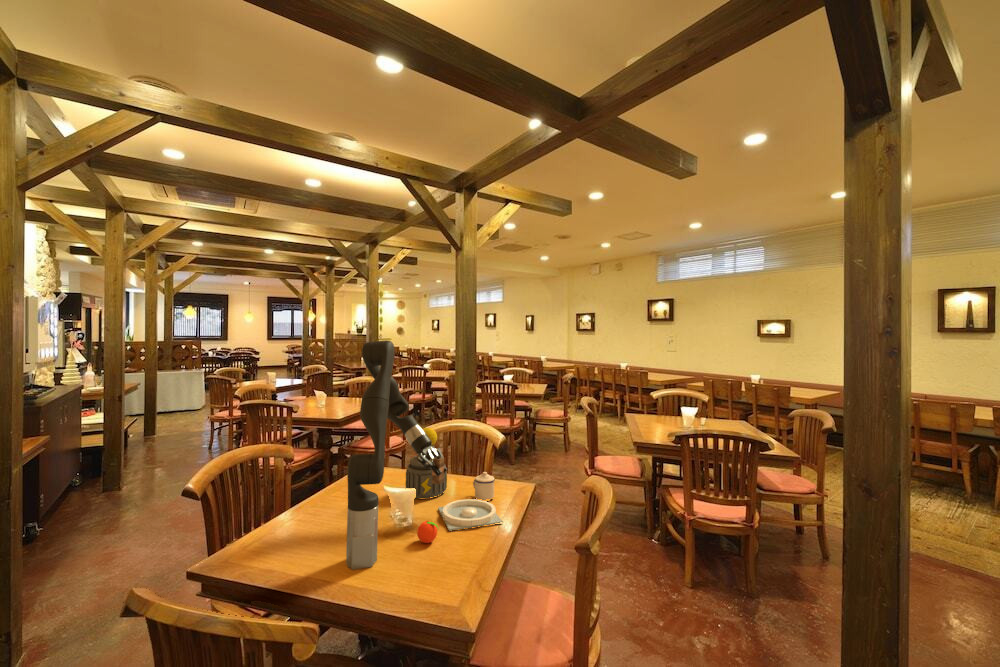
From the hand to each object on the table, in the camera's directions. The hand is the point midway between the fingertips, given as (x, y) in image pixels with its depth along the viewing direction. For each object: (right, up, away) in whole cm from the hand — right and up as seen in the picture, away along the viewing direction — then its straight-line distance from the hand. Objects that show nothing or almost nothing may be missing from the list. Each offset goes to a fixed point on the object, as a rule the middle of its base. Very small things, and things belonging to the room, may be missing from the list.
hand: (442, 473), depth 159 cm
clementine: (-2, -17, -20) cm, 26 cm away
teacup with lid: (+15, -19, +23) cm, 33 cm away
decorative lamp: (-12, -19, +28) cm, 36 cm away
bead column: (-2, -4, +1) cm, 5 cm away
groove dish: (+10, -18, +2) cm, 21 cm away
